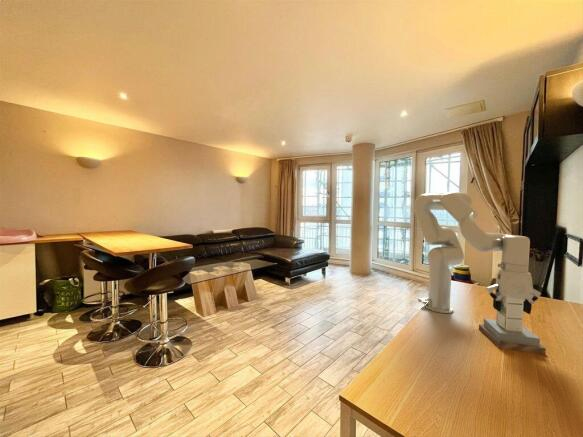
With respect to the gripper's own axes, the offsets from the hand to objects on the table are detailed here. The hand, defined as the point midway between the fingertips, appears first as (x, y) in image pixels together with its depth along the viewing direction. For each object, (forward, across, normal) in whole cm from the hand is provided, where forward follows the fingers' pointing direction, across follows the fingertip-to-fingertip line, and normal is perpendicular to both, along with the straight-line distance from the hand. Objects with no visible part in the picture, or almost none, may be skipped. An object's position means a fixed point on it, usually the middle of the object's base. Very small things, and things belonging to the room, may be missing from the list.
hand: (511, 311), depth 92 cm
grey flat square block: (+13, 0, 0) cm, 13 cm away
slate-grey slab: (+10, 0, 0) cm, 10 cm away
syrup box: (+7, 0, 0) cm, 7 cm away
